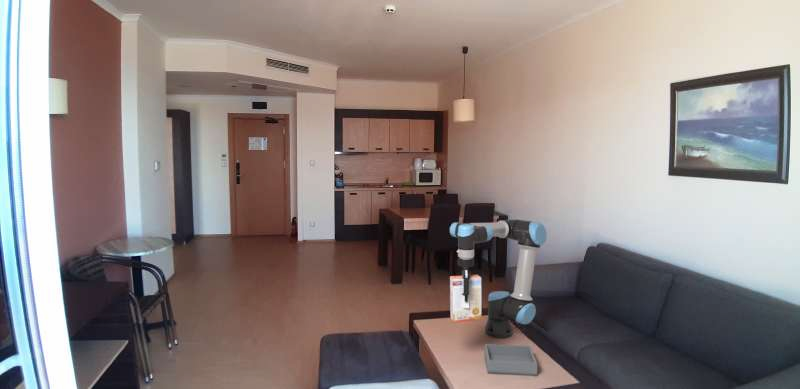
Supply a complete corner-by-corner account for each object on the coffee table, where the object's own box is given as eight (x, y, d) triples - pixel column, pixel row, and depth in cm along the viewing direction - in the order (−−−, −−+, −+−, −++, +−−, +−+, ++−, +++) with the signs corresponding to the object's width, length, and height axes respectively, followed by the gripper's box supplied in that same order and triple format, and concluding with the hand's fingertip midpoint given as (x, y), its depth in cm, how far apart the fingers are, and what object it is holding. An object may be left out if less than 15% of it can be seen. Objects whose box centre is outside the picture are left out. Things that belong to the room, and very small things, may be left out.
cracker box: (477, 315, 214) (478, 273, 212) (481, 320, 208) (482, 277, 206) (449, 317, 212) (449, 275, 210) (452, 322, 206) (453, 279, 204)
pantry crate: (484, 355, 220) (484, 344, 219) (529, 357, 218) (530, 345, 217) (487, 373, 202) (487, 361, 202) (536, 376, 200) (537, 363, 199)
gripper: (457, 252, 217) (457, 297, 220) (458, 262, 198) (458, 312, 200) (472, 252, 217) (472, 298, 219) (475, 263, 197) (474, 312, 199)
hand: (465, 304), depth 210 cm, fingers closed on cracker box, 7 cm apart
